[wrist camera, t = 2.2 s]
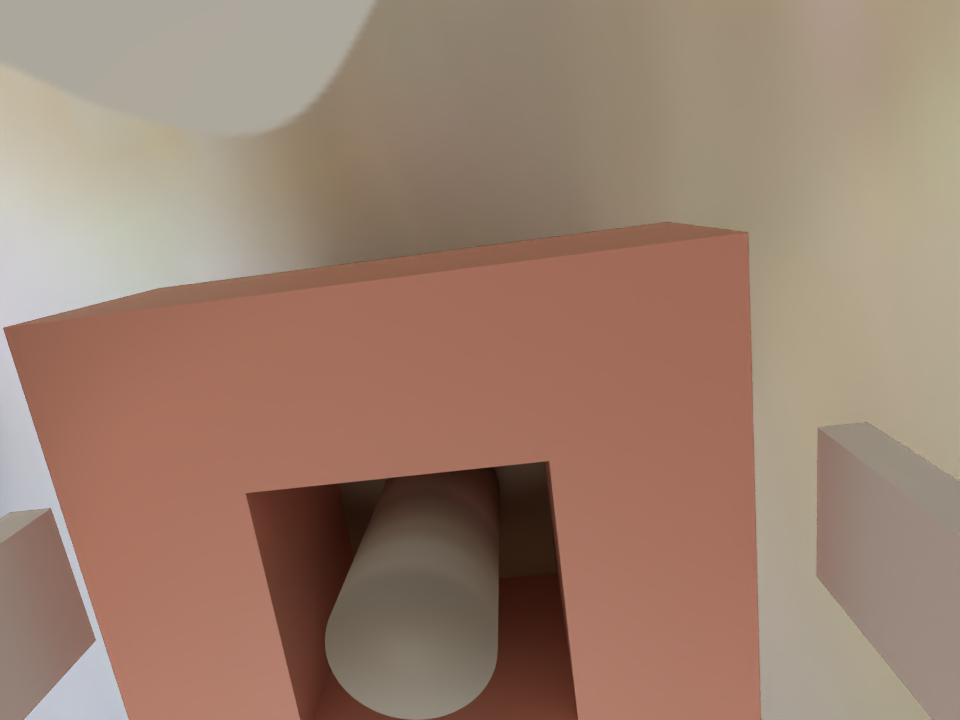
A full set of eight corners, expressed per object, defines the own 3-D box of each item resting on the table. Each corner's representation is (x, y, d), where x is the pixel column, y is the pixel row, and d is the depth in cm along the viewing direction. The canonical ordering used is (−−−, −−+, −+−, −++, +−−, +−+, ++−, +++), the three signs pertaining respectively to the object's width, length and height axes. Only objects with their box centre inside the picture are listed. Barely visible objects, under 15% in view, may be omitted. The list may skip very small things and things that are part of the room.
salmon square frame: (692, 669, 14) (764, 846, 10) (265, 704, 15) (181, 883, 11) (667, 222, 12) (748, 233, 8) (159, 288, 12) (2, 327, 9)
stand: (591, 510, 19) (680, 829, 9) (362, 533, 19) (224, 858, 10) (568, 279, 17) (650, 377, 8) (319, 310, 18) (100, 440, 8)
